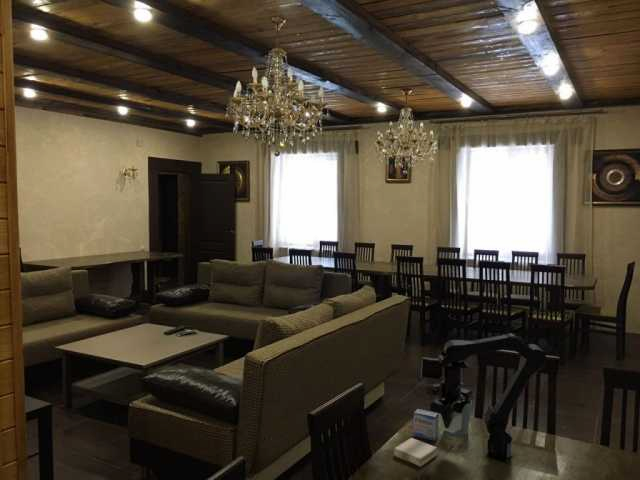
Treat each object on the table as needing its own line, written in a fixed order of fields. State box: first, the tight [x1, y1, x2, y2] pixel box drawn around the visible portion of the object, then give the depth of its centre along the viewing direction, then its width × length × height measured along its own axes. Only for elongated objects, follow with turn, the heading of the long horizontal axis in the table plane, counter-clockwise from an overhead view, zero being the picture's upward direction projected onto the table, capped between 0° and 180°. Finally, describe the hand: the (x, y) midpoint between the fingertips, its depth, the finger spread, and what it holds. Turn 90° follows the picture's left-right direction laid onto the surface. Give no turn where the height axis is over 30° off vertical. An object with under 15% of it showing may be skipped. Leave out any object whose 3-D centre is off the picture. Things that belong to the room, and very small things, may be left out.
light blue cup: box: [442, 397, 473, 438], centre depth 192 cm, size 10×10×12 cm
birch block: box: [393, 437, 438, 467], centre depth 175 cm, size 10×10×3 cm
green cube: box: [439, 412, 462, 433], centre depth 176 cm, size 5×5×5 cm
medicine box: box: [412, 408, 440, 441], centre depth 188 cm, size 8×4×9 cm, turn 62°
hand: (450, 425), depth 176 cm, fingers closed on green cube, 5 cm apart
